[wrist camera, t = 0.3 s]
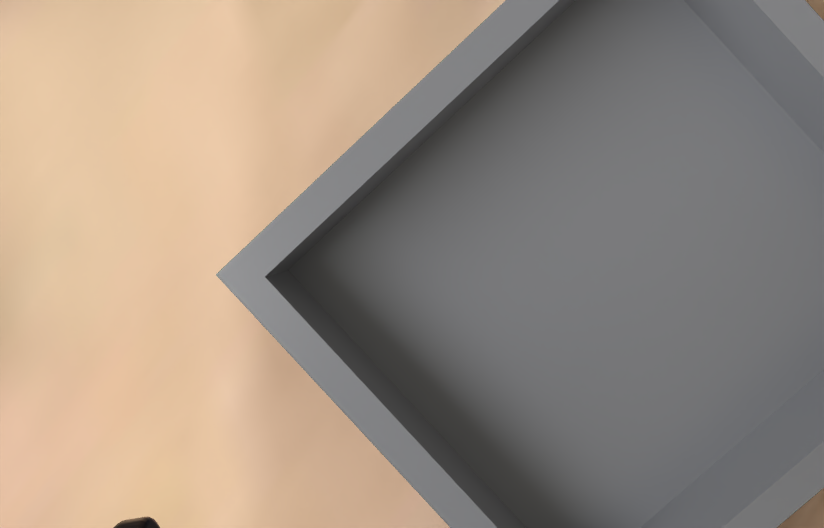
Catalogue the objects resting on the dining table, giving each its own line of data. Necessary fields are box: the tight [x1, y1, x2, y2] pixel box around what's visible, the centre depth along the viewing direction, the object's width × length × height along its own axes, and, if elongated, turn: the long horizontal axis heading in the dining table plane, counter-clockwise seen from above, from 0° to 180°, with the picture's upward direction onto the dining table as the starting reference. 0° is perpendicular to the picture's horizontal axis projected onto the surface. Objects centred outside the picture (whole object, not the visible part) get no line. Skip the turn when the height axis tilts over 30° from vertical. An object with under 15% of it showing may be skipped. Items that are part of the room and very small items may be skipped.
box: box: [216, 0, 824, 528], centre depth 22 cm, size 16×17×4 cm
